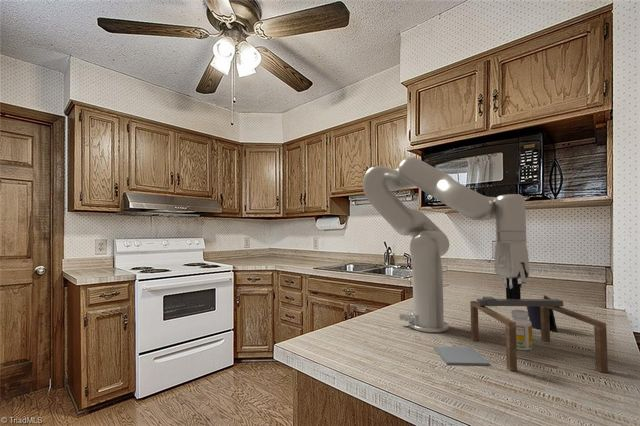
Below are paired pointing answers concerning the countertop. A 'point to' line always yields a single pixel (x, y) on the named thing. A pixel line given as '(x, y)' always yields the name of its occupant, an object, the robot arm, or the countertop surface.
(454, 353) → the slate mat
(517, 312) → the supplement bottle
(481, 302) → the tie bar
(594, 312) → the countertop surface
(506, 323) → the frame
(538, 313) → the speaker
